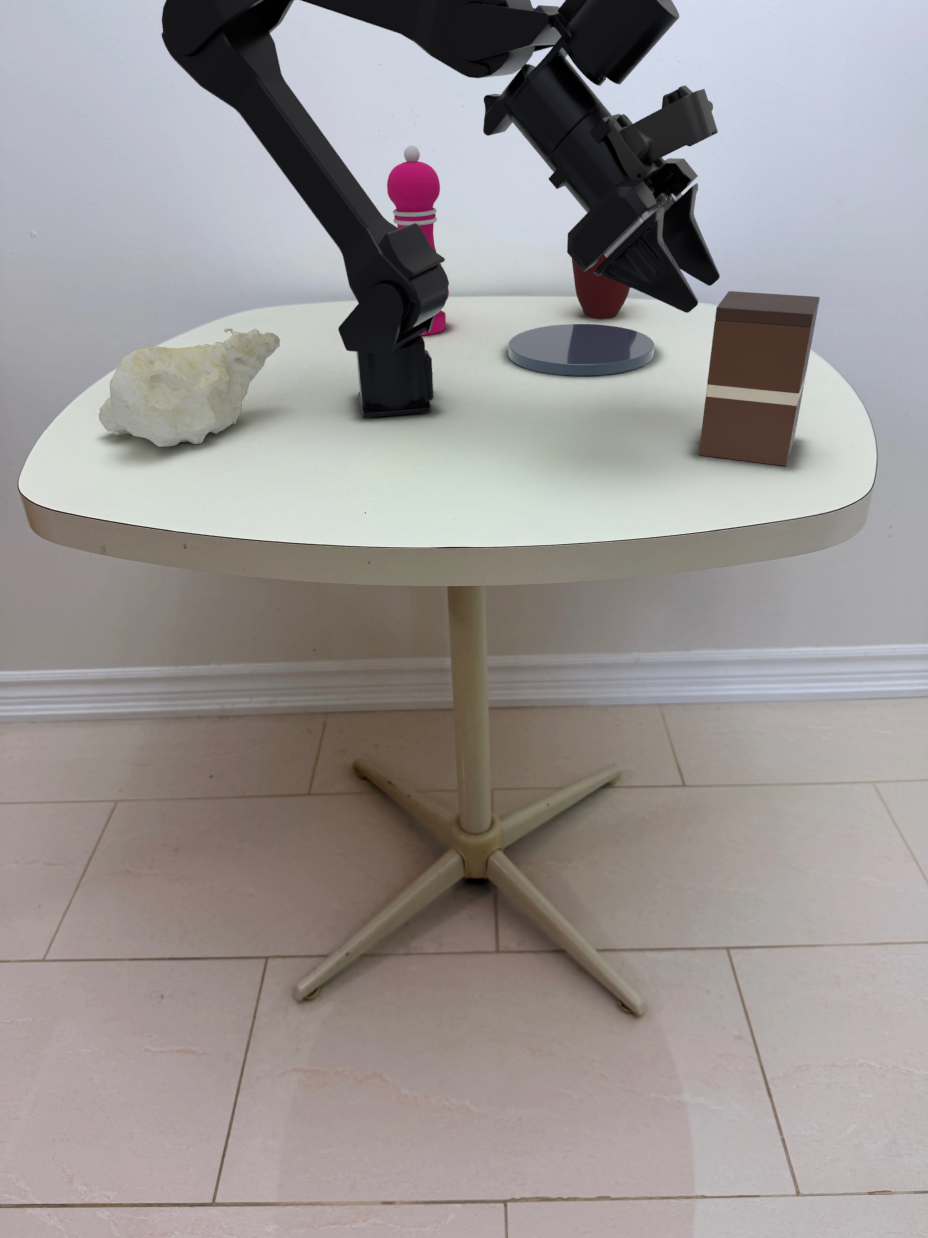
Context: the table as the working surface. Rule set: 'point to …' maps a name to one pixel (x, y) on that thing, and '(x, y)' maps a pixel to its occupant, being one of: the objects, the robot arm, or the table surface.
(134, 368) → the white seashell
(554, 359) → the plate
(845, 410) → the table surface
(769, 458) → the cake slice
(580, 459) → the table surface
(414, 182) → the pepper mill
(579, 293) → the mug
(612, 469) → the table surface
